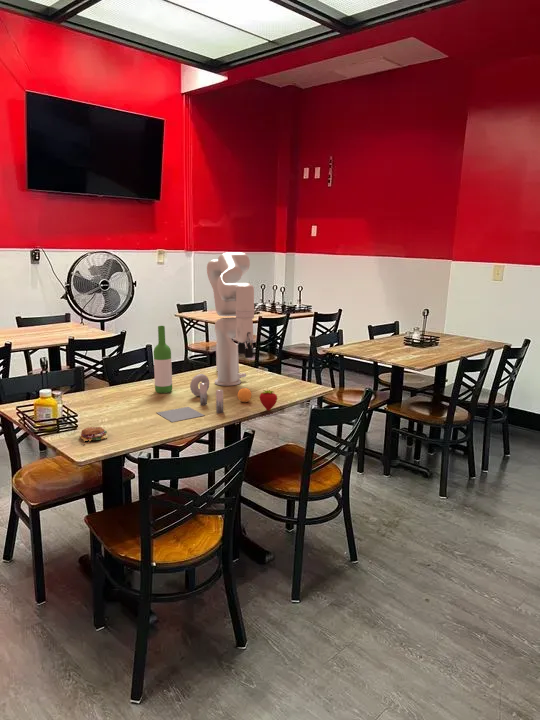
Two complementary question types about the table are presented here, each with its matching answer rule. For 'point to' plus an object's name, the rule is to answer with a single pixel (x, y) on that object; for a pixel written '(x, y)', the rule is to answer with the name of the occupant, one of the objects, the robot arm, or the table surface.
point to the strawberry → (268, 399)
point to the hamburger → (93, 433)
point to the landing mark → (180, 414)
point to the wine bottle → (162, 364)
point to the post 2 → (219, 401)
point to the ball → (244, 395)
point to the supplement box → (237, 359)
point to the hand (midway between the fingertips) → (245, 355)
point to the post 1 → (203, 393)
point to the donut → (195, 382)
